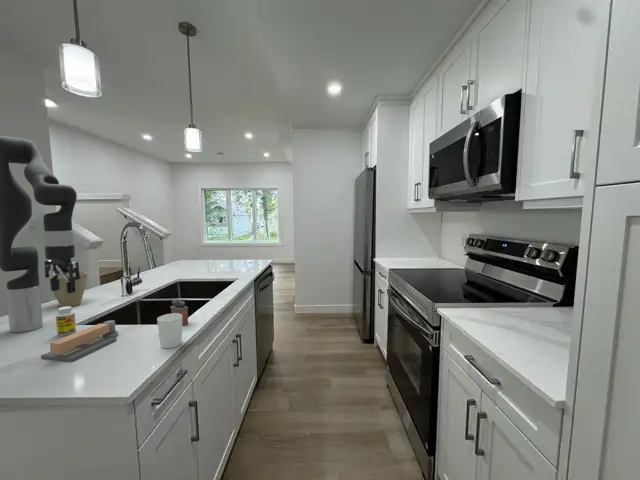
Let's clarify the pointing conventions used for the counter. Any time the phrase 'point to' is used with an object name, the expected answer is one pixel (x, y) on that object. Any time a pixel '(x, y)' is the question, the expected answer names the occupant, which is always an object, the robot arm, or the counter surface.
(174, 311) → the lighter
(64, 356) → the gray base panel
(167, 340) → the white cup
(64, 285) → the plant pot
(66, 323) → the supplement bottle
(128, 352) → the counter surface
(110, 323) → the swing bar
